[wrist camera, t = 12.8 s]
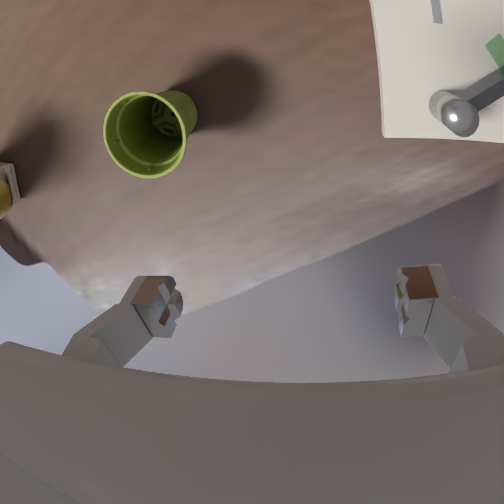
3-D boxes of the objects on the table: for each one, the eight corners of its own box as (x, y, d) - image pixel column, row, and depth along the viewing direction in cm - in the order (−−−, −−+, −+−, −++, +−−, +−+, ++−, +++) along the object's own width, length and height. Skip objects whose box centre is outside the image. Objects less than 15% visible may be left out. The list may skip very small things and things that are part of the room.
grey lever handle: (438, 126, 29) (457, 143, 25) (423, 99, 28) (441, 112, 23) (536, 66, 20) (564, 75, 16) (524, 39, 19) (552, 45, 15)
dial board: (362, -34, 21) (365, -37, 20) (504, -10, 17) (511, -11, 16) (382, 133, 33) (385, 138, 32) (508, 140, 29) (514, 144, 27)
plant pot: (198, 159, 39) (172, 191, 32) (133, 135, 38) (97, 161, 31) (222, 92, 33) (198, 108, 27) (150, 68, 32) (111, 81, 26)
